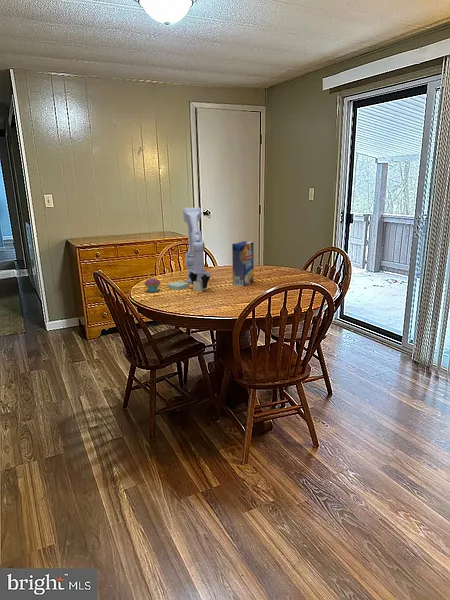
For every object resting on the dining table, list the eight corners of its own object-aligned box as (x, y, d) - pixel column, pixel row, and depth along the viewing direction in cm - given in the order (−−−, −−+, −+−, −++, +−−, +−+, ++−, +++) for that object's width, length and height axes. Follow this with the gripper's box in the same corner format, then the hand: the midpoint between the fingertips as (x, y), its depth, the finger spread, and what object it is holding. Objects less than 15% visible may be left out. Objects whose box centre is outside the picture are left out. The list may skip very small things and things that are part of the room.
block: (199, 288, 232) (199, 279, 230) (206, 289, 229) (205, 281, 227) (193, 290, 228) (193, 281, 226) (200, 291, 225) (199, 282, 223)
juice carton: (244, 286, 233) (243, 244, 226) (232, 285, 237) (232, 244, 230) (253, 282, 243) (253, 241, 236) (242, 280, 246) (242, 241, 240)
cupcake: (145, 293, 222) (144, 272, 219) (144, 289, 230) (142, 269, 227) (161, 292, 224) (160, 271, 221) (159, 288, 232) (158, 268, 229)
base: (178, 284, 240) (178, 281, 240) (189, 286, 235) (189, 283, 234) (167, 287, 234) (166, 284, 233) (178, 290, 228) (178, 286, 228)
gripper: (184, 263, 225) (185, 286, 229) (204, 266, 216) (204, 290, 220) (192, 261, 230) (193, 284, 234) (212, 263, 222) (213, 287, 226)
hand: (199, 287), depth 228 cm, fingers open, 7 cm apart
